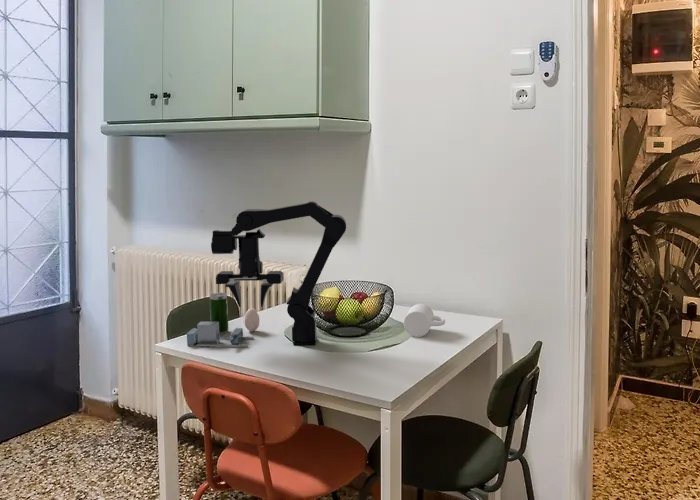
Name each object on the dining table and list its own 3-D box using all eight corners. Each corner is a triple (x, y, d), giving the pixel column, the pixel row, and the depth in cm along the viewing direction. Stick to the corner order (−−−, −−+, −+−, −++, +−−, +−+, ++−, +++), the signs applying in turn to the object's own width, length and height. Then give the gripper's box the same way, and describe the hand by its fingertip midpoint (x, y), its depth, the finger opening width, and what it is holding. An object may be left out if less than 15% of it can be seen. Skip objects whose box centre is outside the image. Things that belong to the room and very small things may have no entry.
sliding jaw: (243, 339, 193) (242, 328, 193) (235, 349, 184) (235, 337, 183) (235, 338, 194) (234, 328, 193) (227, 348, 184) (227, 337, 183)
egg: (254, 334, 199) (253, 310, 198) (241, 332, 201) (240, 309, 200) (262, 330, 203) (262, 307, 202) (250, 328, 205) (249, 305, 204)
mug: (403, 336, 195) (403, 310, 194) (408, 327, 205) (408, 303, 203) (443, 338, 192) (443, 312, 191) (446, 329, 202) (447, 304, 201)
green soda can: (214, 335, 198) (213, 297, 196) (208, 331, 202) (206, 294, 201) (231, 332, 201) (229, 294, 199) (224, 328, 205) (222, 291, 203)
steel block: (201, 341, 193) (200, 321, 192) (219, 341, 192) (218, 321, 191) (198, 344, 189) (197, 324, 188) (216, 344, 189) (215, 324, 188)
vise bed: (253, 338, 194) (253, 327, 194) (247, 347, 186) (247, 335, 185) (194, 338, 195) (193, 327, 195) (186, 346, 187) (185, 335, 186)
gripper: (285, 248, 193) (287, 300, 196) (223, 249, 194) (226, 300, 197) (279, 255, 182) (281, 309, 185) (214, 255, 183) (216, 309, 186)
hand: (251, 306), depth 188 cm, fingers open, 6 cm apart
